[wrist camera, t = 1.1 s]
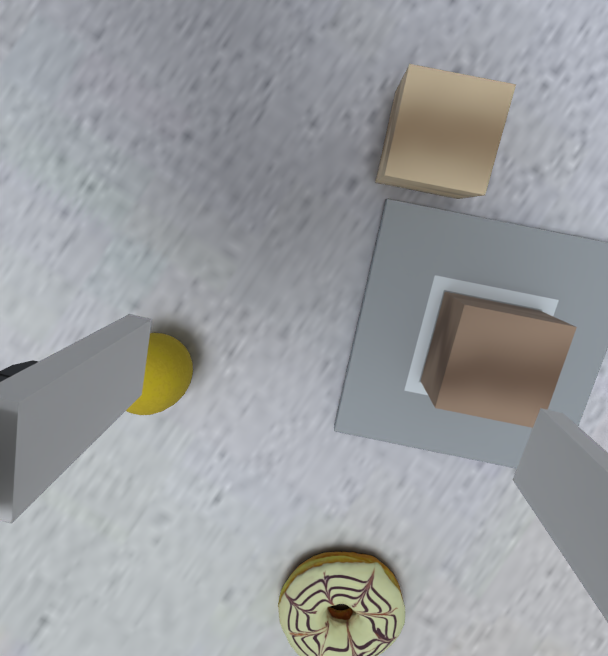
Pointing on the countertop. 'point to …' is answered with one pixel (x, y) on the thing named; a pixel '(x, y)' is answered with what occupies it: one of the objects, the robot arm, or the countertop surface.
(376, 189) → the countertop surface
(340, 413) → the grey square plate
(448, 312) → the walnut base
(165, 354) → the lemon
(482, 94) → the oak cube
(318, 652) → the decorated donut
